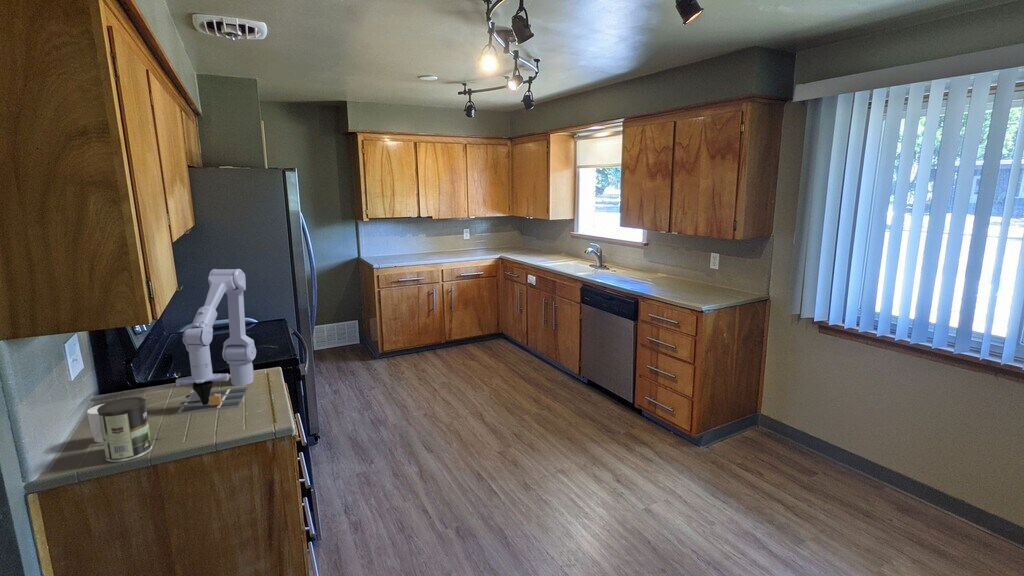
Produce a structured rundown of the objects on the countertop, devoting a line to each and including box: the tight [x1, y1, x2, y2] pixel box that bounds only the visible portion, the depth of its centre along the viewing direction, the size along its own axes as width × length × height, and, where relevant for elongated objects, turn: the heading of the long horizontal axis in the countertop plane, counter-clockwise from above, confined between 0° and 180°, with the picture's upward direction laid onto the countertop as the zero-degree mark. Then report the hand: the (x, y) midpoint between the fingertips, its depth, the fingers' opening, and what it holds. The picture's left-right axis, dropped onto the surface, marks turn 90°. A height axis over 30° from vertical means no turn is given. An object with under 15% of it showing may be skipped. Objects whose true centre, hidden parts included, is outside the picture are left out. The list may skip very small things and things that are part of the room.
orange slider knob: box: [209, 393, 222, 406], centre depth 163 cm, size 2×3×4 cm, turn 108°
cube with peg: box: [189, 390, 201, 401], centre depth 167 cm, size 2×3×4 cm, turn 108°
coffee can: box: [97, 396, 153, 463], centre depth 135 cm, size 10×10×14 cm
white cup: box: [86, 403, 105, 444], centre depth 142 cm, size 8×8×10 cm
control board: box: [174, 386, 249, 416], centre depth 169 cm, size 19×18×1 cm
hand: (205, 403), depth 162 cm, fingers closed
